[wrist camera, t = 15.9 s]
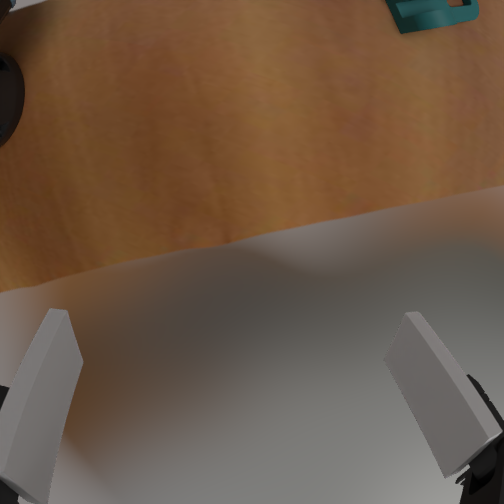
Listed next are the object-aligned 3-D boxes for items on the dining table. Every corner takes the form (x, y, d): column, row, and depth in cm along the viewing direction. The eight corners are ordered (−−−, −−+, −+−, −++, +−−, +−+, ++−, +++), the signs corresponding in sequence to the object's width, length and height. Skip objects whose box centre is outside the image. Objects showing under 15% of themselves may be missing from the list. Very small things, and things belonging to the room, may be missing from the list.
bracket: (400, 34, 33) (433, 28, 26) (380, -8, 30) (411, -20, 23) (475, 19, 31) (507, 17, 24) (460, -17, 28) (491, -23, 21)
